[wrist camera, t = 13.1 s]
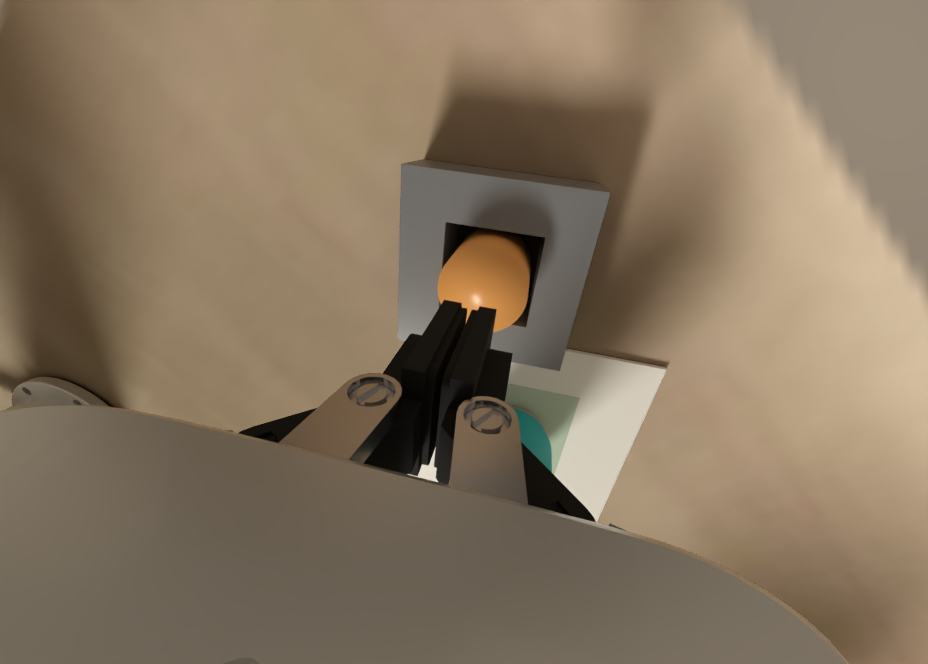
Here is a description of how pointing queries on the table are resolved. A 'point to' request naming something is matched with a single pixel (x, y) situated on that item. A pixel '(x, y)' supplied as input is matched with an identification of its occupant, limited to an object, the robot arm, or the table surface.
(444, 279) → the button
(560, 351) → the button box
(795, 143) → the table surface
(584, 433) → the paper sheet
